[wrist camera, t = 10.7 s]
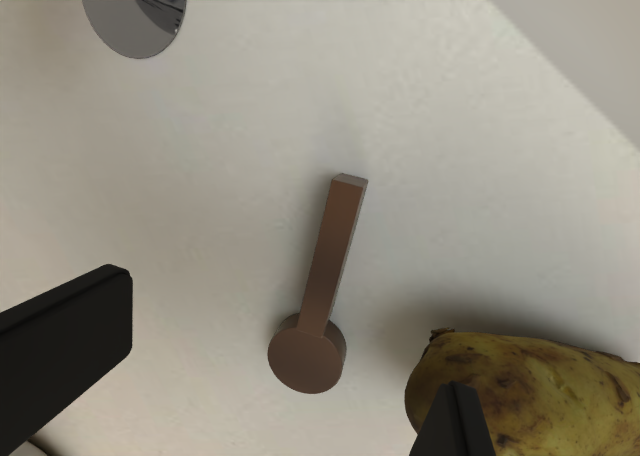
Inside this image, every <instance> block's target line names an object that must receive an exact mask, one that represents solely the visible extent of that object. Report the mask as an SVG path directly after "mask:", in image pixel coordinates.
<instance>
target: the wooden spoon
mask: <svg viewBox="0 0 640 456" xmlns="http://www.w3.org/2000/svg"><path fill="white" fill-rule="evenodd" d="M367 184H368V180H366V179H363V178H359V177H355V176H351V175H347V174H344V173H342V174H340V175H339V176H337V177H335V178H334V179H332V182H331V186H330V190H329V194H328V198H327V202H326V207H325V211H324V215H323V219H322V223H321V227H320V232H319V236H318V240H317V244H316V248H315V252H314V257H313V261H312V265H311V269H310V273H309V277H308V282H307V286H306V290H305V294H304V298H303V302H302V307H301V311H300V313H299V314H295V315H292V316H290V317H288V318H287V319H286V320H285V321H284V322H283V323H282V324H281V325H280V327H279V329H278V330H277V332H276V333H275V335H274V337H273V338H272V340H271V342H270V344H269V347H268V361H269V365H270V367H271V369H272V371H273V373H274V374H275V375H276V377H277V378H278V379H279V380H280V381H281V382H282V383H283V384H285V385H286V386H288V387H289V388H291V389H293V390H295V391H298V392H302V393H307V394H317V393H322V392H325V391H327V390H329V389H331V388H332V387H333V386H334V385H335V384H336V383H337V382H338V380H339V379H340V377H341V374H342V369H343V365H344V361H345V356H346V343H345V339H344V337H343V335H342V333H341V331H340V330H339V329H338V328H337V326H336V325H335V324H333V323H332V322H331V321H330V320H329V318H330V316H331V313H332V310H333V306H334V303H335V299H336V296H337V292H338V288H339V285H340V281H341V278H342V274H343V270H344V267H345V263H346V260H347V256H348V252H349V249H350V245H351V242H352V238H353V234H354V231H355V227H356V224H357V220H358V216H359V213H360V209H361V206H362V202H363V199H364V195H365V191H366V188H367Z"/></svg>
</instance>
